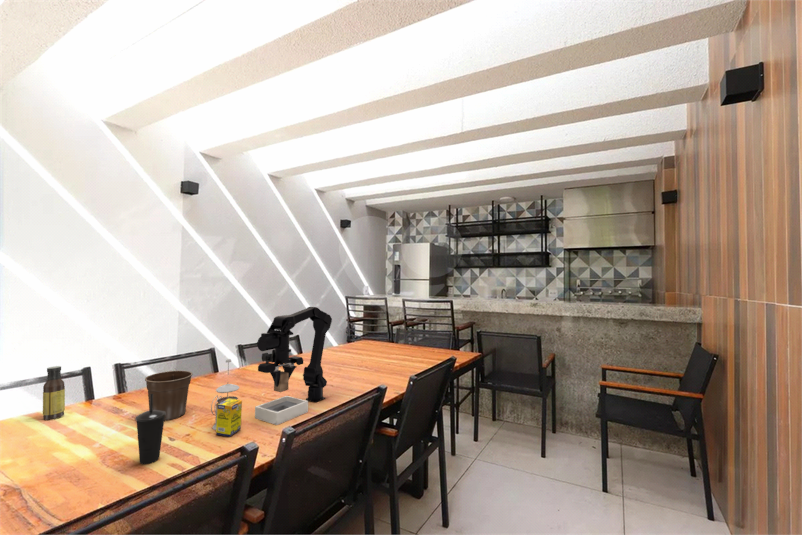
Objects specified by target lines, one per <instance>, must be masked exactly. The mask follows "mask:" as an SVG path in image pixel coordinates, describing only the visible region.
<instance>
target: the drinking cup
mask: <svg viewBox="0 0 802 535" xmlns="http://www.w3.org/2000/svg"><path fill="white" fill-rule="evenodd" d="M165 415H166V412H165V411H161V410H153V394H150V410H146V411H144V412H142V413H140V414H137V415H135V417H134V418H135V421H136V428H137V429H136V432H137V444H138V446H137V447H138V454H139V455H138V456H139V464H140V465H149V464H150V465H151V464H152V462H153V463H156V462H157V461H158V460H159V459H160V456H161V455H160V453H161V448H162V447H161V446H162V439H163V434H164V433H163V431H164V424H165V421H164V418H165Z"/></svg>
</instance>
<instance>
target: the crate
mask: <svg viewBox="0 0 802 535" xmlns="http://www.w3.org/2000/svg"><path fill="white" fill-rule="evenodd" d="M285 401H289V402H293V403H296V404H297V405H294V406H292V407H289V408H287V409H284V410H280V411H279V412H275V411H272V410H268V409H266V408H268V407H271V406H274V405H277V404H279V403H282V402H285ZM308 412H309V401H308V400H306V399H301V398H298V397H293V396H289V395H285V396H281V397H279V398H275V399H273V400H270V401H267V402H265V403H262V404H258V405H256V406H254V419H256V420H260V421H263V422H266V423H269V424H272V425H275V426H278V425H281V424H282V423H283V424H284V423H285V422H288V421H290V420H292V419H295V418H297V417H300V416H302V415H304V414H307V413H308Z"/></svg>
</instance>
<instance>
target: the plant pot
mask: <svg viewBox="0 0 802 535" xmlns="http://www.w3.org/2000/svg"><path fill="white" fill-rule="evenodd" d="M192 376H193V372H191V371H189V370H168V371H162V372H158V373H153V374H150V375H148V376H145V378H144V381H145V383H146V390H147V397H148V399H147V400H148V409H149V410H150V394H153V410H161V411H165V412H166V415H165V418H164V422H166V421H171V420H175V419H178V418H180V417H181V416H184V415H185V414H186V409H187V403H188V396H189V395H188V394H189V389H190V384H191V380H192ZM149 410H148V411H149Z"/></svg>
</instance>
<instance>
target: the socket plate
mask: <svg viewBox="0 0 802 535" xmlns="http://www.w3.org/2000/svg"><path fill="white" fill-rule="evenodd" d="M294 405H297V404H296V403H293V402H289V401H285V402H282V403H279V404H277V405H274V406H271V407H268V408H266V409H268V410H272V411H275V412H279V411H280V410H284V409H287V408H289V407H292V406H294Z"/></svg>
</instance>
